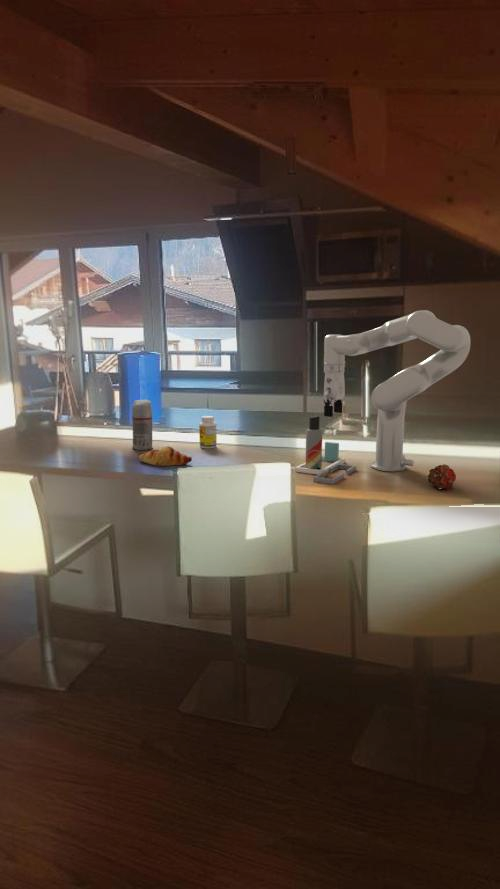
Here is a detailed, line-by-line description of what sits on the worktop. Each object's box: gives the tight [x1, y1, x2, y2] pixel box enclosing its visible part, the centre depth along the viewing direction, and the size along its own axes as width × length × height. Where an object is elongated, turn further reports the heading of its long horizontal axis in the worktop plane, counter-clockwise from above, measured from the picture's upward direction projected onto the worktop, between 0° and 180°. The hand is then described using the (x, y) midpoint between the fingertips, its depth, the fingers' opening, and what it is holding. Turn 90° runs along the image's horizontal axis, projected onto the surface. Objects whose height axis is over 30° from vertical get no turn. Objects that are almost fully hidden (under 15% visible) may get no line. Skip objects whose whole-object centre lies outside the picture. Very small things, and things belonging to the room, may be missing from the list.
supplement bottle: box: [199, 415, 217, 450], centre depth 277 cm, size 7×7×13 cm
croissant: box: [138, 445, 193, 467], centre depth 250 cm, size 21×10×8 cm
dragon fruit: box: [427, 463, 457, 489], centre depth 218 cm, size 8×8×12 cm
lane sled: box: [294, 441, 346, 476], centre depth 245 cm, size 10×22×7 cm, turn 152°
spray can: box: [131, 398, 153, 451], centre depth 274 cm, size 8×8×20 cm
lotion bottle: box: [304, 415, 323, 470], centre depth 238 cm, size 6×6×20 cm
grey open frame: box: [313, 463, 357, 485], centre depth 234 cm, size 7×22×2 cm, turn 152°
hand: (333, 414), depth 251 cm, fingers open, 9 cm apart
